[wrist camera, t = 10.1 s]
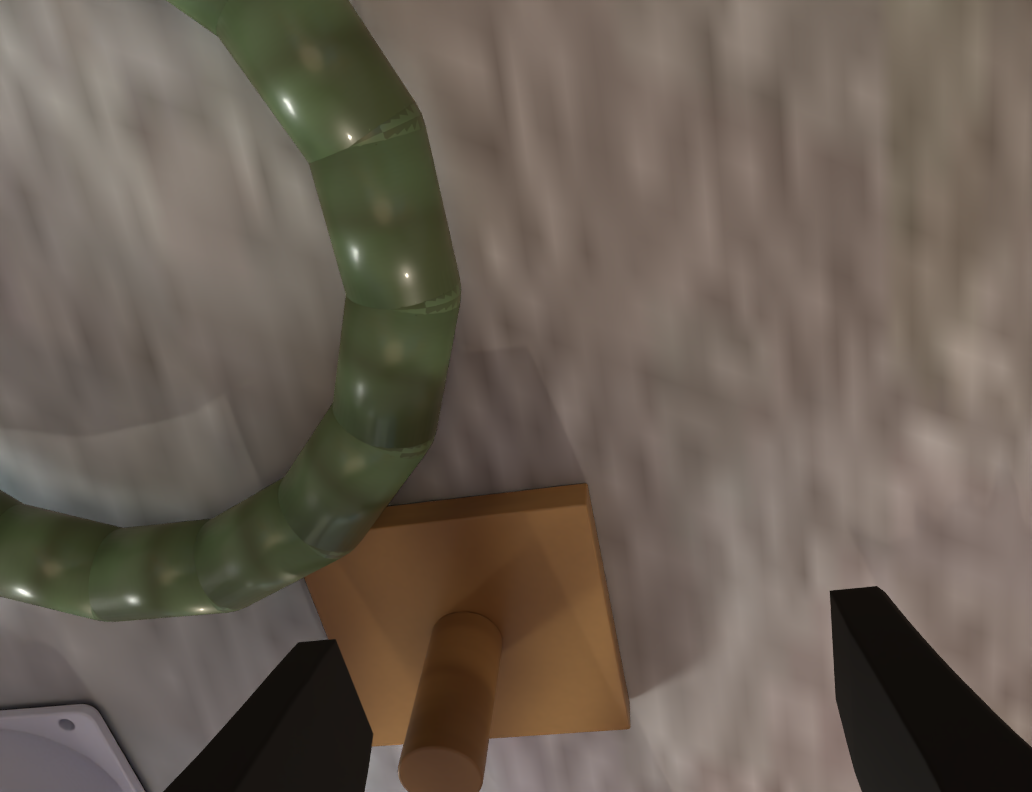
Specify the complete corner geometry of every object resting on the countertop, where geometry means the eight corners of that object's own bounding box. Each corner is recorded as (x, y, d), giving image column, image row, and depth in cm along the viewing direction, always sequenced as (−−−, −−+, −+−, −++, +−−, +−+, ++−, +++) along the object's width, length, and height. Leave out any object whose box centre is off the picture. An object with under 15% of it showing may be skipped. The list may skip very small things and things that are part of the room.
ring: (-74, 604, 25) (-140, 660, 23) (-479, -92, 18) (-630, -104, 16) (530, 549, 22) (520, 609, 20) (336, -337, 15) (285, -396, 12)
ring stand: (377, 721, 27) (328, 891, 22) (299, 515, 23) (220, 664, 19) (629, 702, 26) (636, 879, 21) (587, 482, 22) (582, 632, 17)
